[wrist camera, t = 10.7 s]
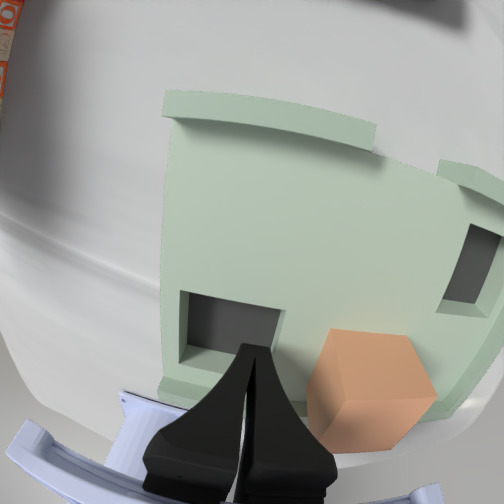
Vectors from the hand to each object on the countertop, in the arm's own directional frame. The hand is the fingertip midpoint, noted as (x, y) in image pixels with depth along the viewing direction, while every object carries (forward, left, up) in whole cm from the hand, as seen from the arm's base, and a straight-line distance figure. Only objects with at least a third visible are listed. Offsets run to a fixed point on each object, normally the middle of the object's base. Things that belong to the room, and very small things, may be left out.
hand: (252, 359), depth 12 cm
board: (+3, -5, -3) cm, 7 cm away
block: (0, -6, -1) cm, 6 cm away
